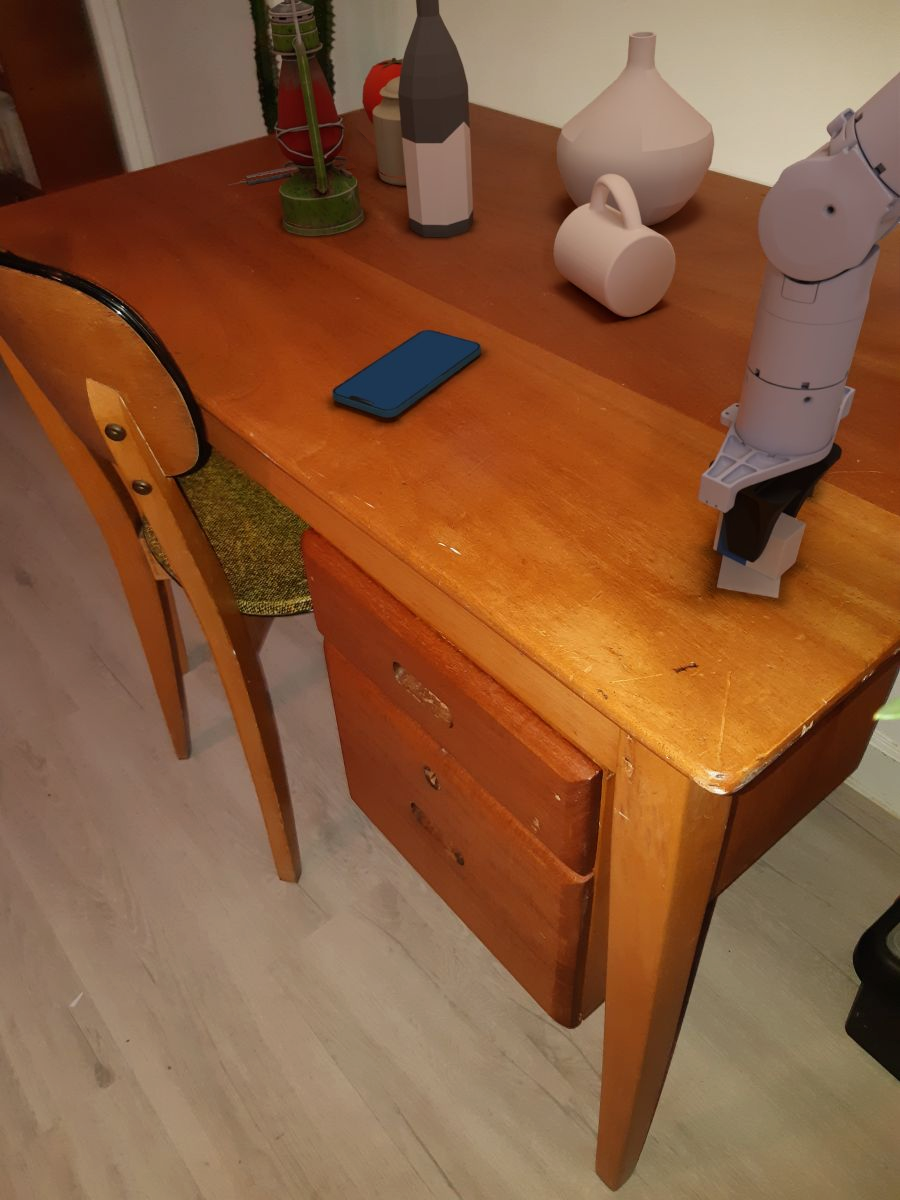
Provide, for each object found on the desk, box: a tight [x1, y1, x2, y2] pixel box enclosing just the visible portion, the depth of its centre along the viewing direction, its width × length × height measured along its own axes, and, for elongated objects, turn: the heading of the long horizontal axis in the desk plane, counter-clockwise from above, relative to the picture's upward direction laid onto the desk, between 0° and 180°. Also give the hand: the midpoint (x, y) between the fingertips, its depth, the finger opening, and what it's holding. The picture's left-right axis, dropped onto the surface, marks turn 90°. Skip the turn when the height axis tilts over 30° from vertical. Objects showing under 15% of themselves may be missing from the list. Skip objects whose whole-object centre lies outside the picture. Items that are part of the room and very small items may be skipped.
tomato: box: [361, 57, 403, 125], centre depth 138 cm, size 11×13×10 cm
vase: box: [556, 31, 715, 227], centre depth 103 cm, size 18×18×19 cm
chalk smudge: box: [716, 554, 782, 599], centre depth 62 cm, size 8×4×1 cm, turn 161°
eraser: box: [712, 511, 807, 580], centre depth 61 cm, size 5×3×4 cm, turn 44°
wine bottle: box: [398, 0, 474, 239], centre depth 100 cm, size 8×8×30 cm
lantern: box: [268, 0, 365, 237], centre depth 104 cm, size 14×11×30 cm
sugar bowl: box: [372, 56, 407, 187], centre depth 121 cm, size 15×11×15 cm
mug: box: [552, 174, 677, 318], centre depth 89 cm, size 8×10×12 cm
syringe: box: [229, 158, 349, 187], centre depth 126 cm, size 8×18×2 cm, turn 115°
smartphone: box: [331, 329, 482, 419], centre depth 83 cm, size 7×1×15 cm
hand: (756, 542), depth 61 cm, fingers closed on eraser, 3 cm apart
